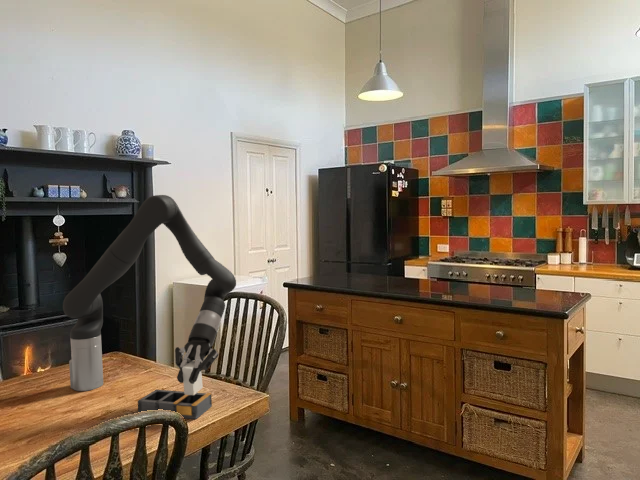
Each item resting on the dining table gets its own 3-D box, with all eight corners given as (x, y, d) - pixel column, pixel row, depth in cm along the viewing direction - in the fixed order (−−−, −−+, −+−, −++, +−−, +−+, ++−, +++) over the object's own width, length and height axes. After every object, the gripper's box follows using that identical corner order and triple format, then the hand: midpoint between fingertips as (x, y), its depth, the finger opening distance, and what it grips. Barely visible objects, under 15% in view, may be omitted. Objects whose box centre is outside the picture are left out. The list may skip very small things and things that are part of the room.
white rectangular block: (184, 394, 134) (182, 367, 132) (193, 386, 138) (191, 360, 137) (193, 395, 133) (191, 368, 132) (202, 387, 138) (200, 361, 136)
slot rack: (137, 414, 134) (136, 400, 134) (156, 401, 143) (156, 388, 143) (195, 419, 130) (194, 405, 129) (211, 406, 138) (211, 392, 138)
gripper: (179, 321, 142) (157, 374, 130) (222, 322, 138) (202, 377, 127) (189, 334, 147) (169, 386, 136) (230, 336, 143) (213, 389, 132)
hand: (185, 381), depth 131 cm, fingers closed on white rectangular block, 3 cm apart
